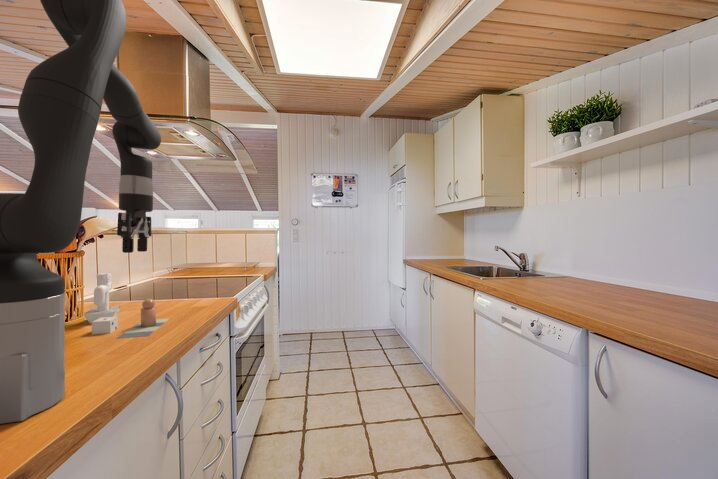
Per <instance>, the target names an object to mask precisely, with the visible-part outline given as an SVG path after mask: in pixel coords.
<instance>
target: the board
mask: <svg viewBox="0 0 718 479" xmlns="http://www.w3.org/2000/svg"><path fill="white" fill-rule="evenodd" d="M169 320H170V318H159V319H158V318H156V325H155V326H151V327H141V321H140V322H138V323H137V324H136V325H134V326H132V327H131V328H130V329H128V330H127V331H125V332H123V333H121V334H120V335H119V336H117V337H116V338H115V339H118V340H119V339H127V338H128V339H129V338H131V339H132V338H140V337H141V338H143V337H149V336H150V335H151V334H153V333H154V332H155V331H156V330H158V329H159V328H160V327H161V326H162V325H164V324H165V323H166V322H168V321H169Z"/></svg>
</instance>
